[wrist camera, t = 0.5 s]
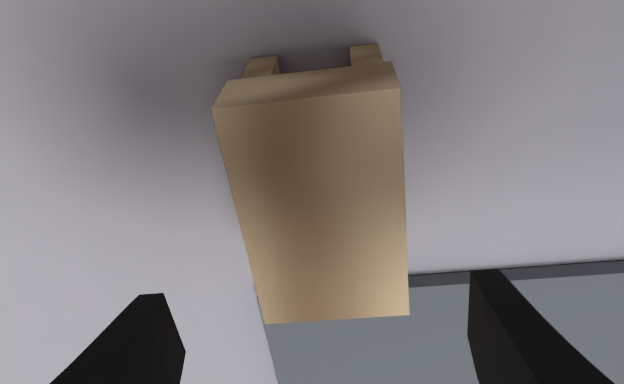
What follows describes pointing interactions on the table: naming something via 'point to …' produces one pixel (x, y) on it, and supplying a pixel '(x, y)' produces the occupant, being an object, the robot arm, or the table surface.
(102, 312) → the table surface
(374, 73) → the oak footstool
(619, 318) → the slate mat
